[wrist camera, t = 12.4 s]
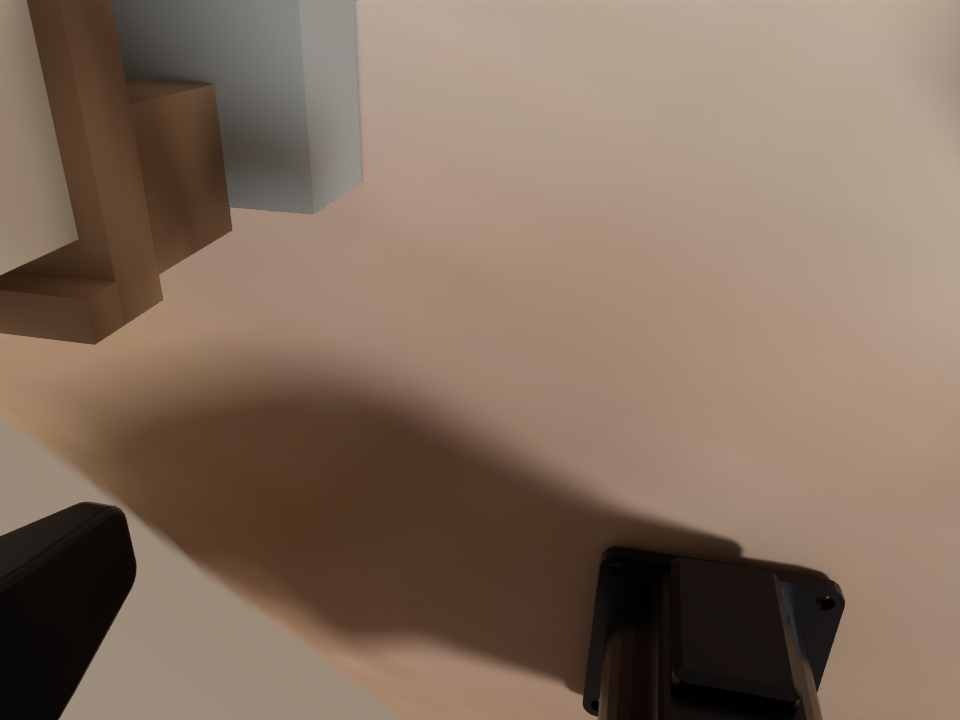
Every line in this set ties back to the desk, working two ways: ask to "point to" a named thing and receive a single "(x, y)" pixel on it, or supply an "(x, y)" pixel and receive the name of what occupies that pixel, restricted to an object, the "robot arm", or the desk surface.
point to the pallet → (116, 181)
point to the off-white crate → (28, 150)
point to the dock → (262, 88)
